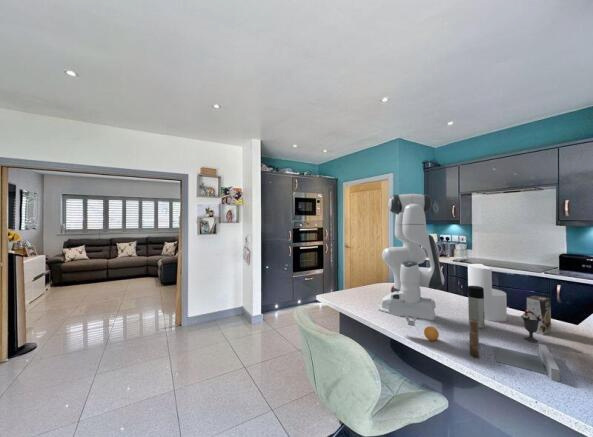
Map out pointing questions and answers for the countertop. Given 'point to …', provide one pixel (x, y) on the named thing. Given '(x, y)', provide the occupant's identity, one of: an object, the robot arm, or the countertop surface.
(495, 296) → the cylinder
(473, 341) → the post
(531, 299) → the coffee box
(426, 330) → the ball
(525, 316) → the sundae
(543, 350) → the bar
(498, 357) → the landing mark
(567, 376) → the countertop surface
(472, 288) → the spray can
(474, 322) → the post
